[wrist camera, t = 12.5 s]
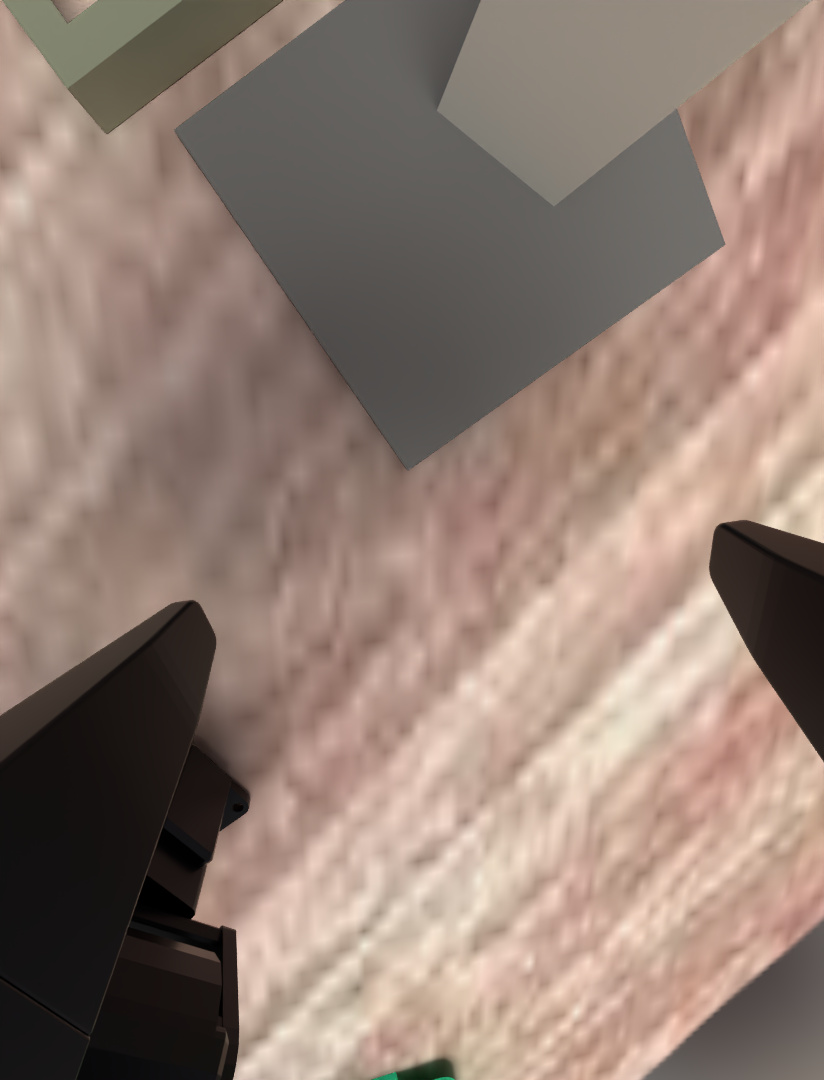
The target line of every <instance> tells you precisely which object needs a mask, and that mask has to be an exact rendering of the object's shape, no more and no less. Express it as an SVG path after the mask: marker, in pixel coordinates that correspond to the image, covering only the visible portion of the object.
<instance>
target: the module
mask: <svg viewBox="0 0 824 1080" xmlns="http://www.w3.org/2000/svg"><path fill="white" fill-rule="evenodd" d="M811 1H812V0H481V1H480V4H479V6H478V9H477V11H476V14H475V16H474V19H473V21H472V24H471V26H470V29H469V31H468V34H467V36H466V39H465V41H464V44H463V46H462V49H461V51H460V54H459V56H458V59H457V61H456V64H455V66H454V69H453V71H452V74H451V76H450V79H449V81H448V84H447V86H446V89H445V91H444V94H443V96H442V99H441V101H440V104H439V106H438V109H437V111H438V112H439V113H440V114H442V115H443V116H444V117H445V118H446V119H448V120H449V121H450V122H451V123H453V124H454V125H455V126H456V127H457V128H459V129H460V130H461V131H462V132H463V133H465V134H466V135H467V136H468V137H470V138H471V139H472V140H473V141H474V142H476V143H477V144H478V145H479V146H481V147H482V148H483V149H484V150H485V151H487V152H488V153H489V154H490V155H492V156H493V157H494V158H495V159H496V160H498V161H499V162H500V163H501V164H503V165H504V166H505V167H506V168H507V169H509V170H510V171H511V172H512V173H513V174H515V175H516V176H517V177H518V178H520V179H521V180H522V181H523V182H524V183H526V184H527V185H528V186H529V187H531V188H532V189H533V190H534V191H535V192H537V193H538V194H539V195H540V196H542V197H543V198H544V199H545V200H546V201H548V202H549V203H550V204H551V205H553V206H555V205H557V204H558V203H559V202H560V201H562V200H563V199H564V198H565V197H567V196H568V195H569V194H570V193H572V192H573V191H574V190H575V189H577V188H578V187H579V186H580V185H582V184H583V183H584V182H585V181H587V180H588V179H589V178H590V177H592V176H593V175H594V174H595V173H597V172H598V171H599V170H600V169H602V168H603V167H604V166H605V165H607V164H608V163H609V162H610V161H612V160H613V159H614V158H615V157H617V156H618V155H619V154H620V153H622V152H623V151H624V150H625V149H627V148H628V147H629V146H630V145H632V144H633V143H634V142H635V141H637V140H638V139H639V138H640V137H642V136H643V135H644V134H645V133H647V132H648V131H649V130H650V129H652V128H653V127H654V126H655V125H657V124H658V123H659V122H660V121H662V120H663V119H664V118H665V117H667V116H668V115H669V114H670V113H672V112H673V111H674V110H675V109H677V108H678V107H679V106H680V105H682V104H683V103H684V102H685V101H687V100H688V99H689V98H690V97H692V96H693V95H694V94H695V93H697V92H698V91H699V90H700V89H702V88H703V87H704V86H705V85H707V84H708V83H709V82H710V81H712V80H713V79H714V78H715V77H717V76H718V75H719V74H720V73H722V72H723V71H724V70H726V69H727V68H728V67H729V66H731V65H732V64H733V63H734V62H736V61H737V60H738V59H739V58H741V57H742V56H743V55H744V54H746V53H747V52H748V51H749V50H751V49H752V48H753V47H754V46H756V45H757V44H758V43H759V42H761V41H762V40H763V39H764V38H766V37H767V36H768V35H769V34H771V33H772V32H773V31H774V30H776V29H777V28H778V27H779V26H781V25H782V24H783V23H784V22H786V21H787V20H788V19H789V18H791V17H792V16H793V15H794V14H796V13H797V12H798V11H799V10H801V9H802V8H803V7H804V6H806V5H807V4H808V3H809V2H811Z"/></svg>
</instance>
